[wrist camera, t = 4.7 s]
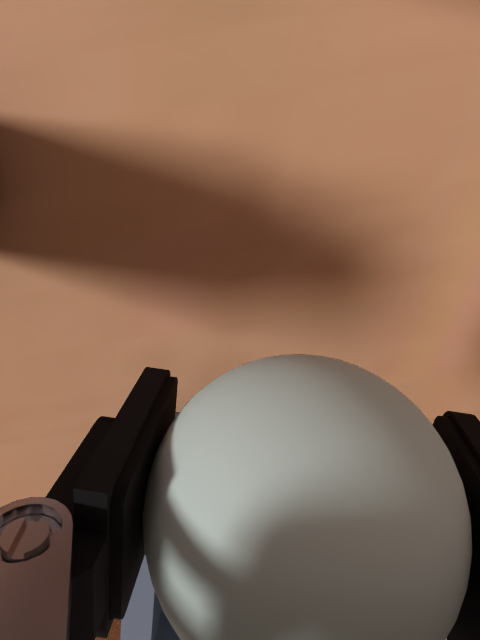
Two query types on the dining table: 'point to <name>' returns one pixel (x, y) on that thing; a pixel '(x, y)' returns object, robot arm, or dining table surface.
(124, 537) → the robot arm
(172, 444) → the ball
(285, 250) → the dining table surface
